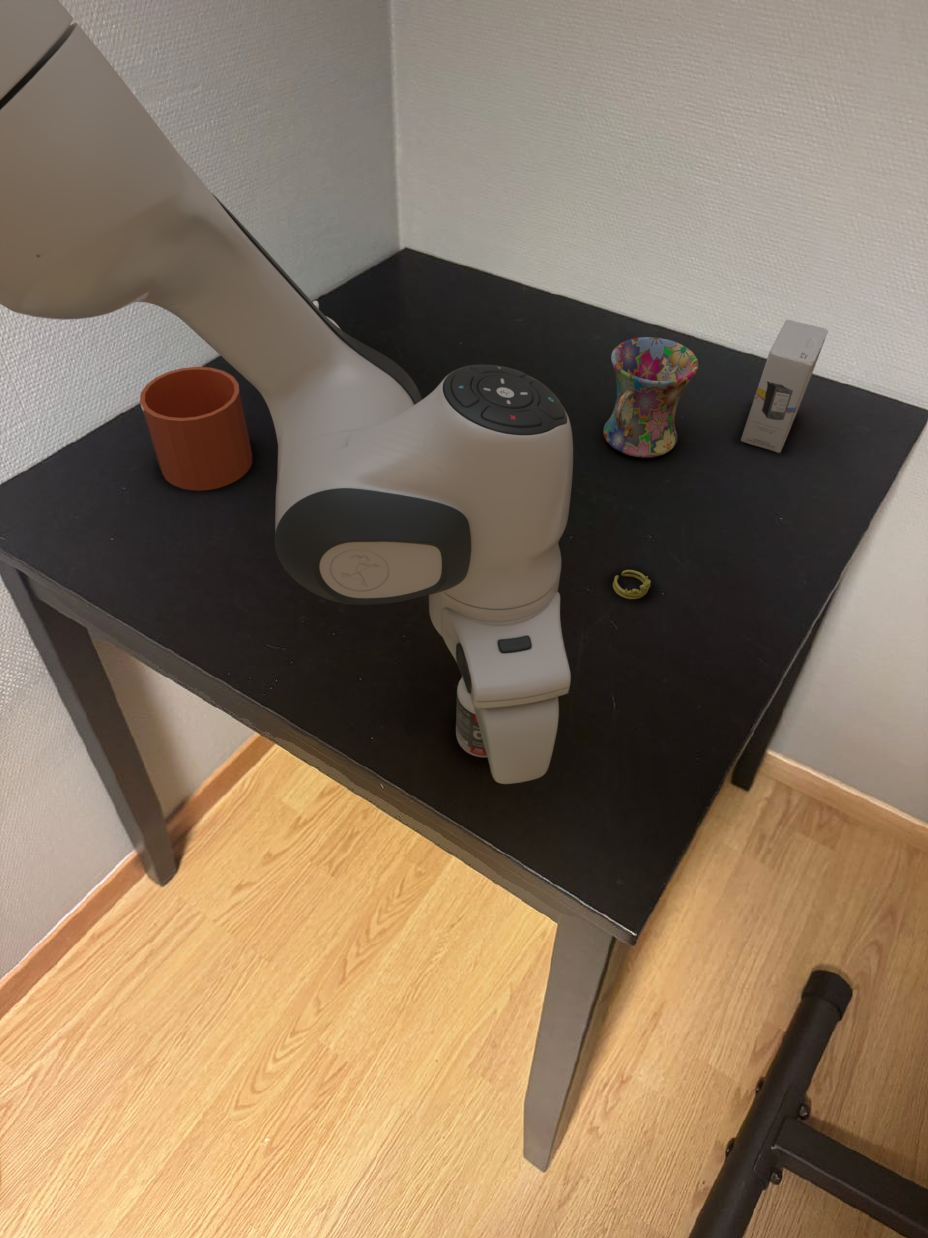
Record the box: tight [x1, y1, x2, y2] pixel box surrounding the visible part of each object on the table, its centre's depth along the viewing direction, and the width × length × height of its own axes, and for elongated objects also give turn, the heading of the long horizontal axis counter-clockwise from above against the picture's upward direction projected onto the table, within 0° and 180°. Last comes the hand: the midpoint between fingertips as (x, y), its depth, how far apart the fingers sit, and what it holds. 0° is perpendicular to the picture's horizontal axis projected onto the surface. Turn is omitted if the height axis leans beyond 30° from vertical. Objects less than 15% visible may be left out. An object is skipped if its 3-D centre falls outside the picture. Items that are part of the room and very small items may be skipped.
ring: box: [612, 569, 652, 600], centre depth 83 cm, size 3×3×3 cm
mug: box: [602, 336, 699, 458], centre depth 96 cm, size 12×9×11 cm
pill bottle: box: [455, 676, 488, 758], centre depth 69 cm, size 5×5×8 cm
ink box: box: [740, 319, 829, 454], centre depth 98 cm, size 9×5×12 cm, turn 153°
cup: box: [139, 366, 254, 491], centre depth 93 cm, size 10×10×9 cm
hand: (485, 713), depth 69 cm, fingers closed on pill bottle, 5 cm apart
